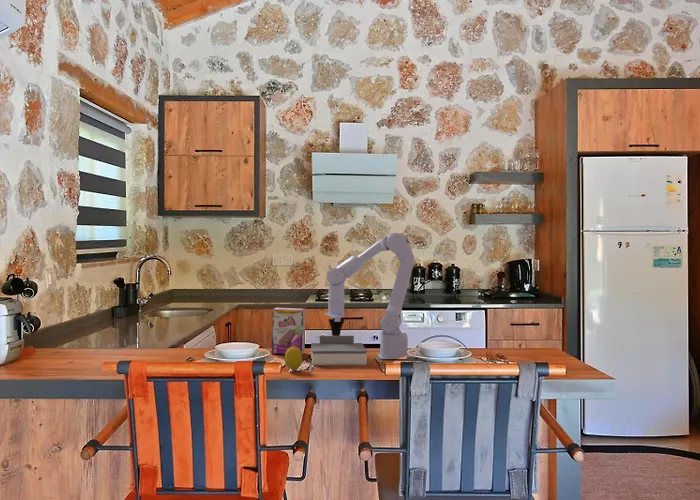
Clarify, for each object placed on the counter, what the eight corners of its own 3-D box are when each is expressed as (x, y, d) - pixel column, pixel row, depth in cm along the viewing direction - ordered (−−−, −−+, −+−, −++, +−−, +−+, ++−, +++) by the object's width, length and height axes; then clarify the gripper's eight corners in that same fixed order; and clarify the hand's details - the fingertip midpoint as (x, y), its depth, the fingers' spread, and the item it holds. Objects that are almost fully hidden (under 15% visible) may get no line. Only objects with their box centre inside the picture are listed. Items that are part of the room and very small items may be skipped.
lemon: (299, 373, 174) (300, 347, 174) (282, 372, 175) (282, 346, 175) (304, 369, 179) (304, 344, 179) (287, 368, 180) (287, 343, 180)
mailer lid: (361, 344, 200) (362, 335, 200) (366, 352, 186) (367, 343, 186) (311, 344, 199) (311, 335, 198) (312, 352, 184) (312, 343, 184)
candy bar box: (271, 354, 202) (272, 309, 201) (274, 352, 207) (275, 307, 206) (302, 355, 201) (303, 309, 200) (304, 353, 206) (305, 308, 205)
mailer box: (361, 356, 200) (361, 345, 200) (366, 365, 186) (366, 353, 186) (311, 357, 198) (311, 345, 198) (312, 365, 184) (312, 353, 184)
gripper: (324, 299, 210) (323, 335, 210) (326, 303, 196) (325, 342, 196) (343, 299, 211) (342, 335, 211) (346, 303, 196) (345, 342, 197)
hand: (335, 339), depth 204 cm, fingers closed
